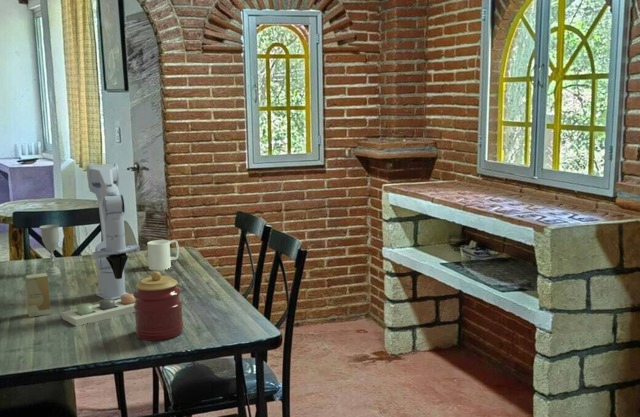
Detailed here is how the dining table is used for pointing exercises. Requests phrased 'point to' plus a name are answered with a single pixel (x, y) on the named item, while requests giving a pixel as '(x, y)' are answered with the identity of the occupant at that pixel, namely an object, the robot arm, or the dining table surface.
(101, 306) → the charcoal button
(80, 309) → the sage button
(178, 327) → the canister
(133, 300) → the terracotta button
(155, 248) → the cup
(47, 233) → the chalice
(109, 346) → the dining table surface
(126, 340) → the dining table surface
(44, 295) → the skincare box
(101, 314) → the panel
